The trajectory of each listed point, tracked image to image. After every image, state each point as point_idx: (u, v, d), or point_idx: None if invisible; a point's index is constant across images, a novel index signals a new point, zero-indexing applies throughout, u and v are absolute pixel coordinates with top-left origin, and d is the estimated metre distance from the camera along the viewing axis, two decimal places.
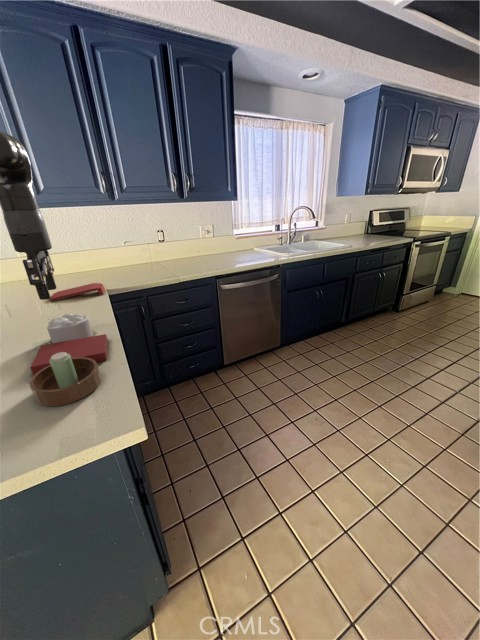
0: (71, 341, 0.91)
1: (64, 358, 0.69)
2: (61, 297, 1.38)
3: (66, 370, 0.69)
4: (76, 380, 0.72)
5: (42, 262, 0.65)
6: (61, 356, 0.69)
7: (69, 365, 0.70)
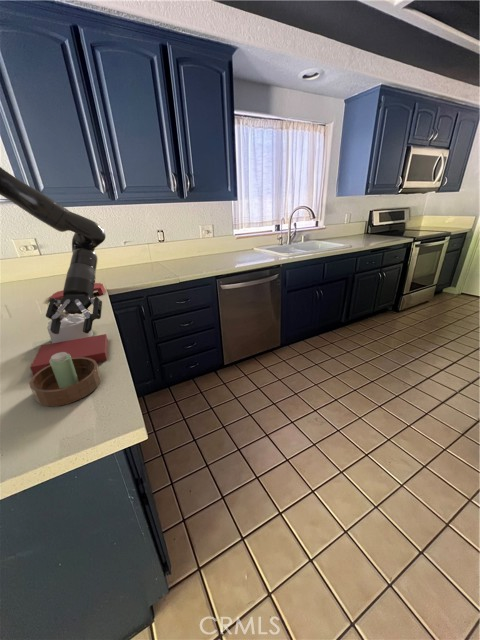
0: (71, 341, 0.91)
1: (64, 358, 0.69)
2: (61, 297, 1.38)
3: (66, 370, 0.69)
4: (76, 380, 0.72)
5: None
6: (61, 356, 0.69)
7: (69, 365, 0.70)
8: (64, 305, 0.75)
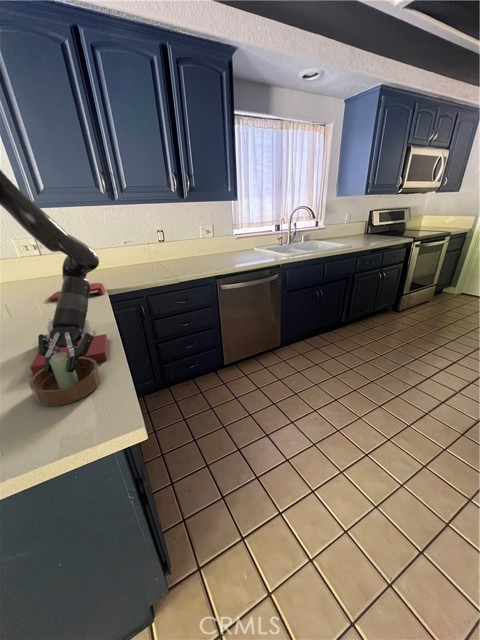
0: None
1: (64, 358, 0.69)
2: None
3: None
4: (76, 380, 0.72)
5: None
6: (61, 356, 0.69)
7: None
8: (55, 339, 0.70)
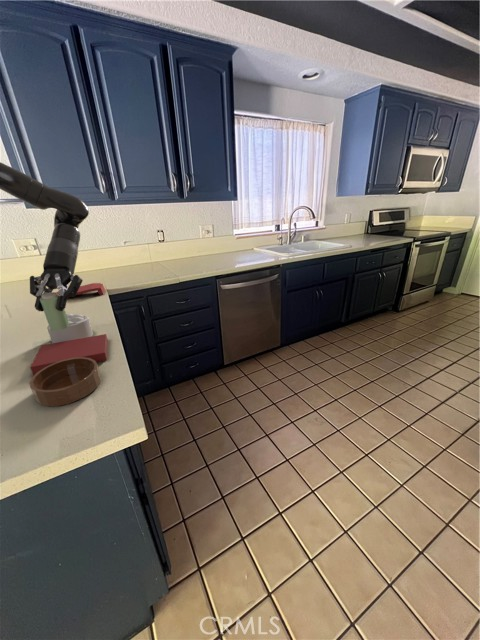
0: (71, 341, 0.91)
1: (54, 296, 0.72)
2: None
3: None
4: (66, 320, 0.76)
5: None
6: (51, 294, 0.72)
7: None
8: (45, 280, 0.74)
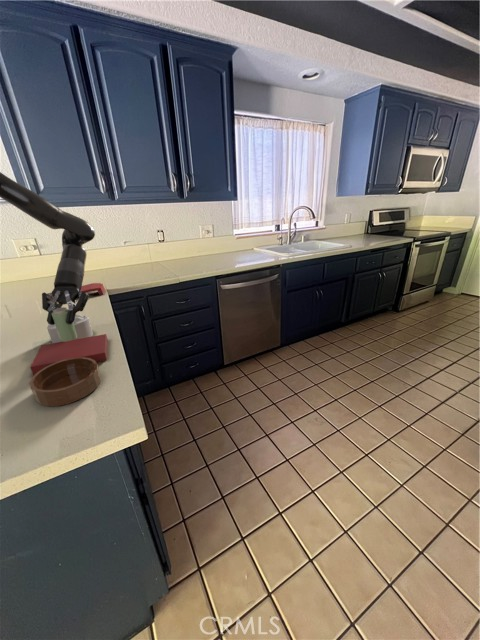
0: (71, 341, 0.91)
1: (64, 311, 0.81)
2: None
3: None
4: (74, 332, 0.85)
5: None
6: (61, 310, 0.81)
7: None
8: (56, 296, 0.82)
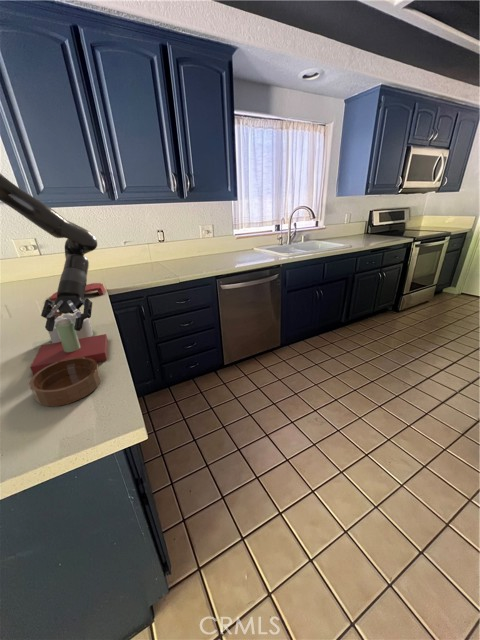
0: None
1: (68, 323, 0.82)
2: None
3: (70, 333, 0.83)
4: (78, 343, 0.86)
5: None
6: (65, 321, 0.82)
7: (72, 329, 0.84)
8: (58, 305, 0.84)
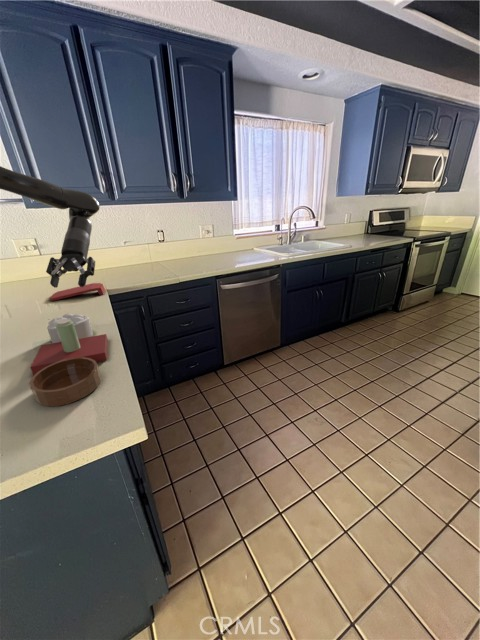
0: None
1: (68, 323, 0.82)
2: (61, 297, 1.38)
3: (70, 333, 0.83)
4: (78, 343, 0.86)
5: None
6: (65, 321, 0.82)
7: (72, 329, 0.84)
8: (62, 263, 0.87)
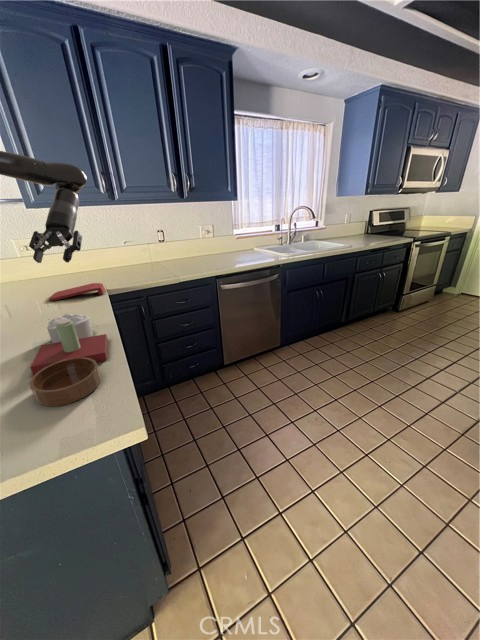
0: None
1: (68, 323, 0.82)
2: (61, 297, 1.38)
3: (70, 333, 0.83)
4: (78, 343, 0.86)
5: None
6: (65, 321, 0.82)
7: (72, 329, 0.84)
8: (46, 236, 0.81)
